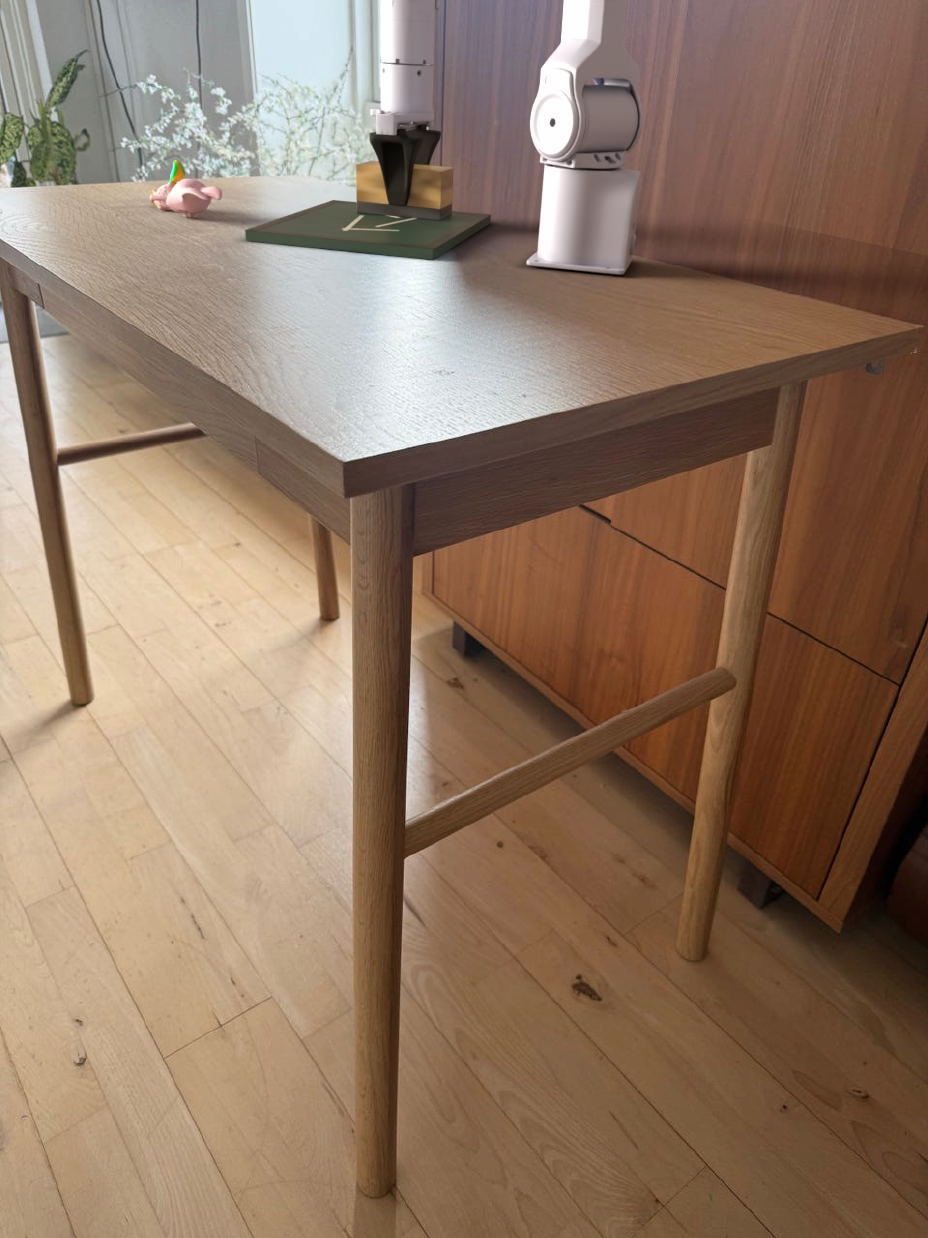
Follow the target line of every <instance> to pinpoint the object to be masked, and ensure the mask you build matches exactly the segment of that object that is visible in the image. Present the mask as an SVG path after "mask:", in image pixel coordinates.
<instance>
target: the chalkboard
mask: <svg viewBox="0 0 928 1238" xmlns="http://www.w3.org/2000/svg"><path fill="white" fill-rule="evenodd" d="M491 221H492V214H491V213H481V212H480V213H479V212H469V211H468V212H467V211H458V210H452V214H451V215H449V216H447V217H446V218H444V219H442V220H429V219H419V218H408V217H398V216H387V215H376V214H366V213H357V201H349V200H348V201H347V200H339V199H338V200H336V199H331V200H329V201H326V202H323V203H320V204H317V205H314V206H311V207H309V208H306V209H303V210H299V211H296V212H294V213H291V214H287V215H284V216H282V217H280V218H276V219H273V220H270V221H267V222H264V223H261V224H258V225H255V226H252V227H250V228H247V229H245V230H244V235H245V236H244V237H245V241H246V242H254V243H266V244H274V245H284V246H292V247H293V246H294V247H302V248H303V247H304V248H312V249H313V248H314V249H322V250H323V249H324V250H333V251H341V252H342V251H344V252H353V253H360V254H361V253H362V254H372V255H381V256H391V257H401V258H411V259H420V260H421V259H422V260H430V261H433V260H435V259H436V258H439V257H440V256H442V255H443V254H445V253H446V252H448V251H450V250H451V249H452V248H454V247H456V246H457V245H459V244H460V243H462V242H464V241H465V240H467V239H468V238H470V237H471V236H473V235H474V234H477V233H478V232H479V231H482V230H483V229H484V228H486V227H487V226H489V225H490V224H491Z"/></svg>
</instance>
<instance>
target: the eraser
mask: <svg viewBox="0 0 928 1238" xmlns="http://www.w3.org/2000/svg"><path fill="white" fill-rule="evenodd" d="M355 189H356V191H355V192H356V201H355V202H357V213H366V214H376V215H387V216H398V217H408V218H419V219H429V220H442V219H444V218H446V217H447V216H449V215H451V214H452V211H453V193H454V167H452V166H441V165H431V164H430V165H418V164H414V168H413V174H412V182H411V189H410V195H409V200H408V203H407V205H406V206H403V205H392V204H389V203H388V200H387V195H386V191H385V185H384V180H383V176H382V171H381V167H380V164H379V161H378V160H368V161H364V162H360V163H356V164H355Z"/></svg>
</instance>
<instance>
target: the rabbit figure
mask: <svg viewBox="0 0 928 1238" xmlns="http://www.w3.org/2000/svg"><path fill="white" fill-rule="evenodd" d="M185 176H186V171H185V169H184V165H183V164H182V163H181V162H180V161H179V160H177V159H174V160H173V161H172V167H171V172H170V174H169V182H168V183H166V184H163V185H161V186H160V187H158V189H157V190H156V189H150V196H149V205H151V204H153V205H152V206H153V207H152V208H154V207H155V206H156V207H157V208H158V209H159V210H161V211H167V210H169V211H174V212H175V213H180V214H182V215H183V217H185V218H195V217H196V216H197V214H199V213H200V212H204V211H205V210H207V209H208V207H209V206H210V205H211V203H212V199H215V200H217V201H220V200H222V199H223V190H222V188H220V187H217V186H213V185H212V186H206V184H204V183H203V182H201V181H200V180H197V179H195V178H185Z"/></svg>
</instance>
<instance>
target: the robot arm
mask: <svg viewBox="0 0 928 1238" xmlns="http://www.w3.org/2000/svg"><path fill="white" fill-rule="evenodd" d="M627 6H628V0H563V9H562V22H561V23H562V24H561V35H560V36H561V37H560V43H559V45H558V46H557V48H556V49H555V50H554V51H553V53H551V54H550V56H549V57H548V58H547V60H546V61H545V62H544V64H543V65H542V66H541V69H540V76H539V77H540V81H539V86H538V92H537V94H536V97H535V99H534V102H533V104H532V108H531V113H530V117H529V119H530V120H529V130H530V136H531V140H532V143H533V145H534V147H535V149H536V151H537V152H538V154H539V155H540V157H539V158H540V159H539V163H540V164H544V168H543V178H542V193H541V204H540V205H541V206H540V215H539V229H538V238H537V239H538V240H537V251H536V252H535V253H533V254H532V255H531V256H530V257H529V258H528V259H527V260H526V265H527V266H529V267H540V268H548V269H549V268H550V269H561V270H568V271H569V270H570V271H578V272H579V271H580V272H588V273H589V272H590V273H598V274H609V275H620V276H621V275H624V274H625V273H626V271H627V270H628V268H629V267H630V265H631V263H632V261H633V258H634V257H633V255H634V254H635V251H636V243H637V234H636V232H637V231H636V230H637V222H638V217H639V216H638V215H639V210H640V209H639V208H640V201H641V192H642V181H643V174H642V171H641V170H635V169H625V168H622V166H626V163H627V162H626V161H627V155H628V154H629V153H630V152H632V150H633V149H634V148H635V147H636V145H637V144H638V142H639V140H640V138H641V136H642V132H643V128H644V121H645V120H644V108H643V104H642V99H641V95H640V80H641V69H640V68H639V66H638V64H637V63H636V62H635V61H634V59H633V58H632V56H631V55H630V53H629V52H628V51H627V49H626V48H625V46H624V40H625V39H624V38H625V37H624V36H625V28H626V27H625V26H626V16H627V8H628V7H627ZM440 8H441V0H380V107H373V108H370V112H369V113H370V114H369V115H370V116H371V117H372V116H373V117H376V118H375V119H376V120H375V121H376V122H375V123H376V124H375V127H376V130H375V131H372V132H369V143H370V145H371V147H372V149H373V151H374V153H375V156H376V158H377V161H379V164H380V167H381V171H382V176H383V180H384V185H385V191H386V195H387V200H388V203H389V204H392V205H403V206H406V205H407V203H408V200H409V195H410V189H411V182H412V174H413V168H414V164H418V165H430V166H431V161H432V159H433V155H434V152H435V150H436V148H437V146H438V144H439V142H440V141H441V136H442V131H441V130H437V129H436V130H435V129H428V128H434V120H435V112H434V111H435V109H434V107H433V106H434V75H435V74H434V72H435V71H434V70H435V69H434V68H435V66H434V65H435V33H436V32H435V30H436V29H435V27H436V23H435V21H436V15H438V13H439V9H440ZM589 80H592V81H593V82H594V84H586V83H587V82H588V81H589Z"/></svg>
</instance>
